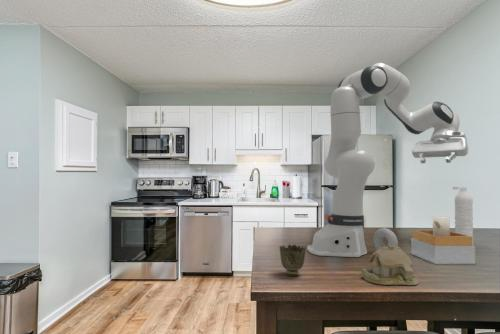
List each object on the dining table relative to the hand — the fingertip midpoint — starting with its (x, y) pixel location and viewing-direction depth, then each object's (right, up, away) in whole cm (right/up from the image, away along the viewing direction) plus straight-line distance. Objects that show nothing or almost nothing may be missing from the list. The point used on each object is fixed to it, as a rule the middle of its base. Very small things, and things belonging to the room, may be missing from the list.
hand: (434, 161), depth 129 cm
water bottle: (+16, -36, +8) cm, 41 cm away
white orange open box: (-6, -35, -16) cm, 39 cm away
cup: (-63, -33, -37) cm, 81 cm away
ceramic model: (-36, -34, -41) cm, 64 cm away
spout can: (-8, -28, -17) cm, 34 cm away
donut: (-25, -35, -12) cm, 45 cm away
